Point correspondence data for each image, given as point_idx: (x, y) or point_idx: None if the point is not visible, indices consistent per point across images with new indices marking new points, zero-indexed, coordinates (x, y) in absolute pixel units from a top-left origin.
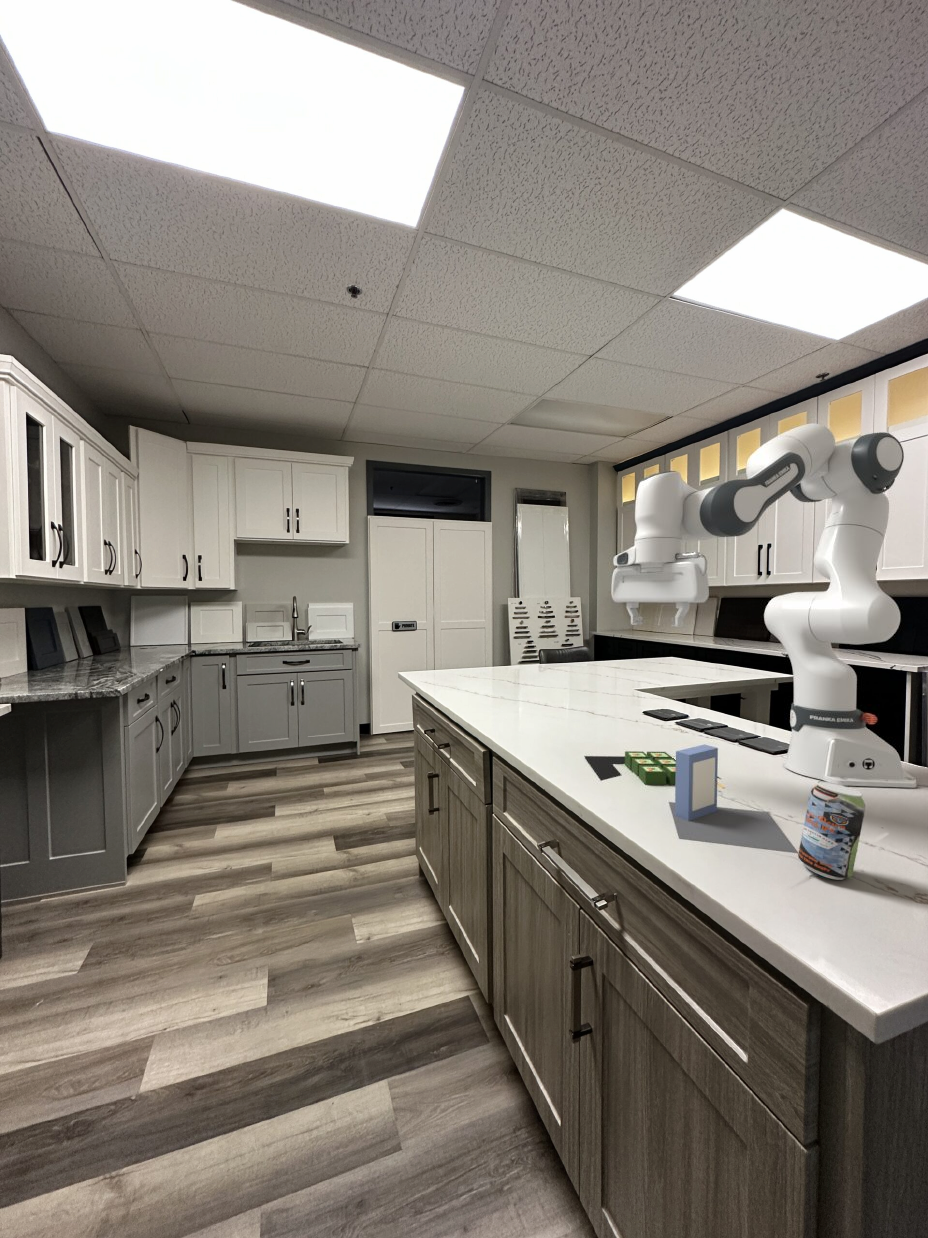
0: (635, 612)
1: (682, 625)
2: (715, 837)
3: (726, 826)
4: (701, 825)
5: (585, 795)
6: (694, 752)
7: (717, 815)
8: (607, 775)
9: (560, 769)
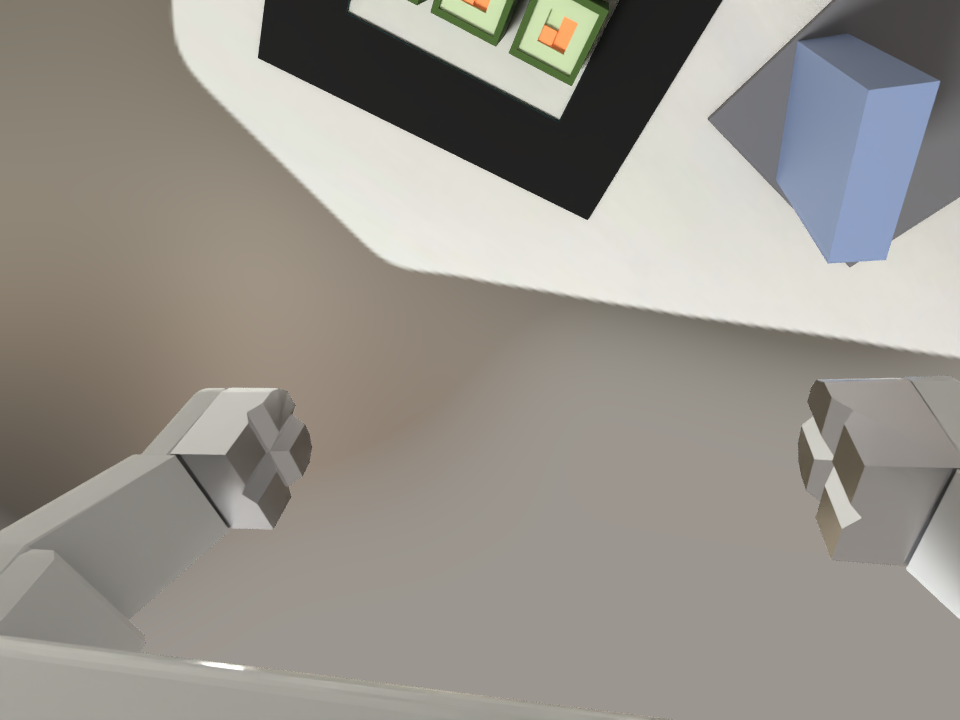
0: (142, 525)
1: (947, 391)
2: (917, 193)
3: None
4: None
5: (547, 266)
6: (887, 222)
7: None
8: (453, 122)
9: (360, 206)
